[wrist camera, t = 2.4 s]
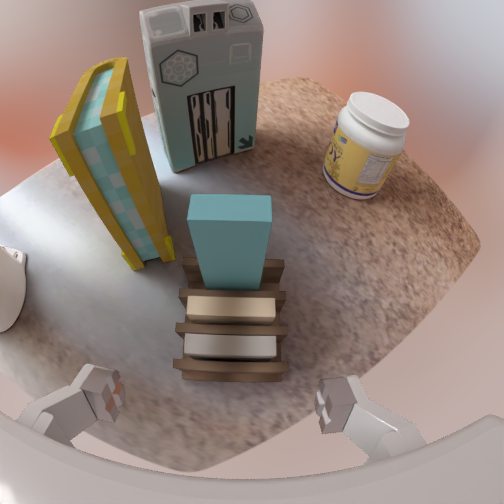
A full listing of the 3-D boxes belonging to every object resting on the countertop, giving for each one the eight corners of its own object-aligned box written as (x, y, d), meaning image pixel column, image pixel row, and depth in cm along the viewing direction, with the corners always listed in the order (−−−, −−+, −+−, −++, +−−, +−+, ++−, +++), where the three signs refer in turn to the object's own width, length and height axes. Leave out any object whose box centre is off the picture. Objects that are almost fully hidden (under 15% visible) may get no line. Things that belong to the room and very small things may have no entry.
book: (175, 259, 39) (122, 110, 17) (133, 270, 38) (49, 138, 16) (162, 179, 46) (132, 52, 24) (127, 189, 45) (83, 68, 23)
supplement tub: (315, 155, 51) (334, 83, 36) (367, 159, 52) (395, 96, 37) (328, 201, 46) (360, 124, 31) (386, 204, 46) (427, 138, 32)
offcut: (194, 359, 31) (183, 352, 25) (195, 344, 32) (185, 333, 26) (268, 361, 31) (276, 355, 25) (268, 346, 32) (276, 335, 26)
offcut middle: (196, 328, 33) (186, 314, 27) (197, 313, 34) (188, 295, 27) (268, 330, 33) (275, 316, 27) (267, 315, 34) (274, 298, 28)
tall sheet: (209, 300, 35) (186, 219, 19) (210, 283, 36) (191, 194, 20) (256, 302, 35) (272, 221, 19) (256, 284, 36) (270, 195, 20)
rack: (184, 378, 31) (172, 376, 25) (192, 265, 38) (185, 242, 33) (279, 381, 31) (288, 380, 26) (276, 267, 39) (282, 245, 33)
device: (173, 175, 47) (145, 15, 21) (164, 151, 50) (139, 11, 24) (254, 150, 51) (266, 2, 25) (238, 129, 54) (243, -4, 28)
